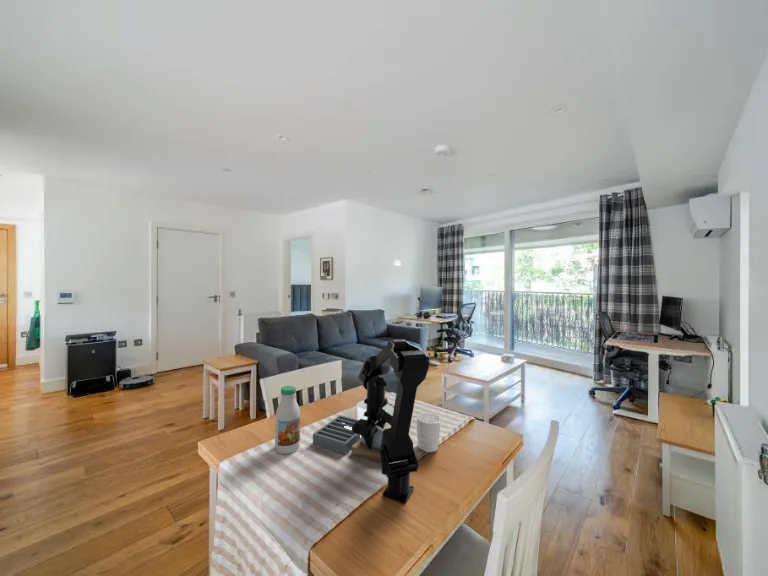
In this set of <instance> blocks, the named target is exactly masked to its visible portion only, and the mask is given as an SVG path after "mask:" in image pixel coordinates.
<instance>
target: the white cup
mask: <svg viewBox="0 0 768 576" xmlns="http://www.w3.org/2000/svg"><path fill="white" fill-rule="evenodd" d="M441 419H442V418H441V417H440V415H438V414H436V413H432V412H422V413H419V414H418V415H417V416H416V439H417V448H418V447H419V448H420V449H422V450H425V451H426V452H425V453H435V452H436V451H438V450H439V449H438V448H439V441H440V434H441V433H440V432H441V423H442V420H441ZM419 448H418V449H419ZM420 449H419V450H420Z"/></svg>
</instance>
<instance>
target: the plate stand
mask: <svg viewBox="0 0 768 576" xmlns="http://www.w3.org/2000/svg"><path fill="white" fill-rule="evenodd" d="M350 451H351V455H353V456H356V457H359V458H361V459H362V458H363V459H364V460H368V461H371V462H375V463H377V464H380V465H381V462H380V454H379V451H380V450H379V449H378V448H374V447H372V449H369V448H368V447H367V445H364V444H362V440H361V438H360V439H359V440H358V441H357V442H356V443H355V444H354V445H353V446H352V449H351V450H350Z"/></svg>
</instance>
